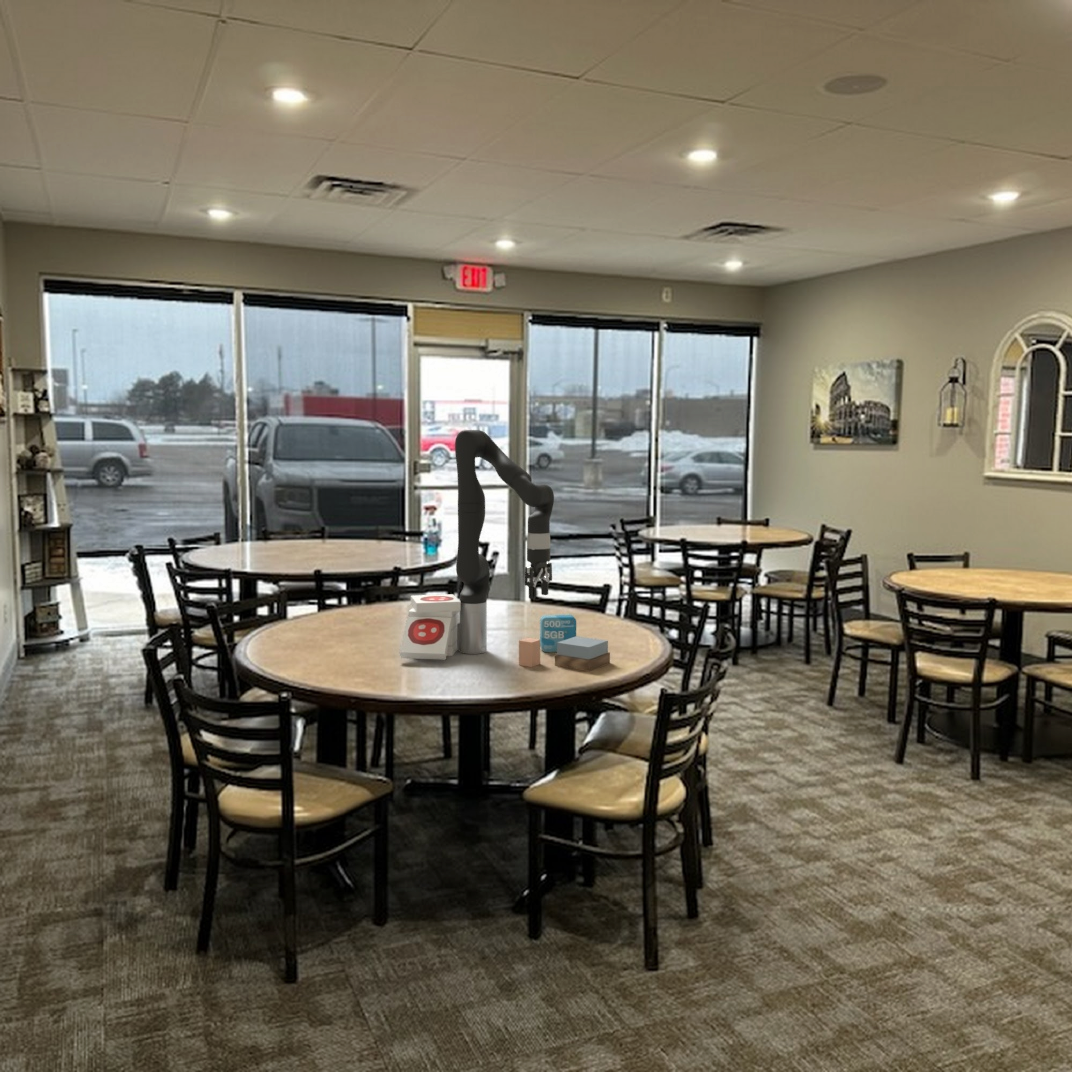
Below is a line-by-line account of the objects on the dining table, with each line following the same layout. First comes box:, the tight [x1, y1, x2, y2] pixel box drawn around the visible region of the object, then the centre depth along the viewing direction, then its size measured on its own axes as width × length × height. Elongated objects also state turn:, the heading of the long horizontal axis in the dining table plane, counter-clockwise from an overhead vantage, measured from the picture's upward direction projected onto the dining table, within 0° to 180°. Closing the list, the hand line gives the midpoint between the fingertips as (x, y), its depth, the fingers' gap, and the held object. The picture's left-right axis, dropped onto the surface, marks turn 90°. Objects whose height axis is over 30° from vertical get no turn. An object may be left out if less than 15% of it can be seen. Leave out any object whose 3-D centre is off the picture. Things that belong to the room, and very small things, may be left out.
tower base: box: [554, 651, 611, 672], centre depth 309 cm, size 13×13×4 cm
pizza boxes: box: [398, 593, 461, 660], centre depth 321 cm, size 19×30×18 cm, turn 175°
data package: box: [539, 614, 577, 653], centre depth 328 cm, size 12×4×12 cm, turn 96°
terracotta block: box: [518, 637, 541, 668], centre depth 308 cm, size 5×5×8 cm
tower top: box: [556, 635, 609, 660], centre depth 308 cm, size 12×12×4 cm
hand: (538, 596), depth 307 cm, fingers open, 8 cm apart
